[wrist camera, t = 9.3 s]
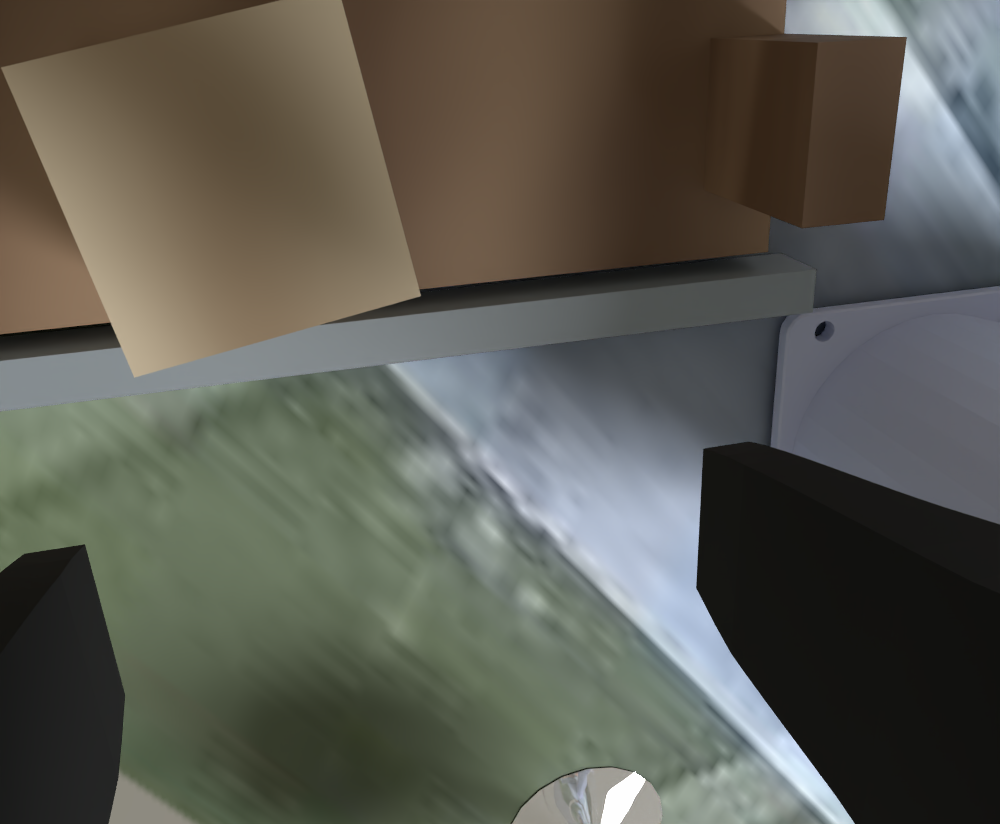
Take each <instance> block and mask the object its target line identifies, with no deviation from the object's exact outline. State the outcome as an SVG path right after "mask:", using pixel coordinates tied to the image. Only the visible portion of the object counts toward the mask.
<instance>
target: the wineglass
mask: <svg viewBox="0 0 1000 824" xmlns="http://www.w3.org/2000/svg"><path fill="white" fill-rule="evenodd" d="M662 816H663V815H662V808H661V800H660V797H659V795H658V794H657V792H656V791H655V789H654V788H653V786H652V784H651V783H650V782H648V781H647V780H645V779H644V778H642V777H641V776H639V775H637V774H636V773H634V772H631V771H626V770H622V769H617V768H613V767H611V768H596V769H586V770H583V771H580V772H577V773H573V774H570V775H567V776H564V777H561V778H560V779H558V780H556V781H555V782H553V783H551V784H550V785H548V786H546V787H545V788H543V789H541V790H539V791H538V792H537V793H536V794H535V795H534V796H533V797H532V798H531V799H530V800H529V801H528V802H527V803H526V804H525V805H524V806H523V807H522V808H521V809H520V811H519V813H518V815H517V816H516V818H515V820H514V822H513V823H512V824H661V820H662Z"/></svg>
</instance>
